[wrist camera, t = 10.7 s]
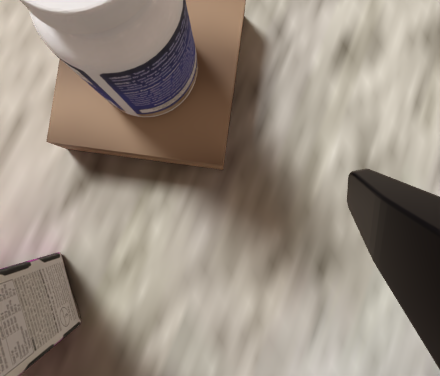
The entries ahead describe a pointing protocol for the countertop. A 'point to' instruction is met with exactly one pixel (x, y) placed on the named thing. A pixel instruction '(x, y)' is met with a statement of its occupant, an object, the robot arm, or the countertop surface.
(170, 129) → the walnut block
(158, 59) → the pill bottle
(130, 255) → the countertop surface
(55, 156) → the countertop surface
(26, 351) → the candy bar box
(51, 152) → the countertop surface
